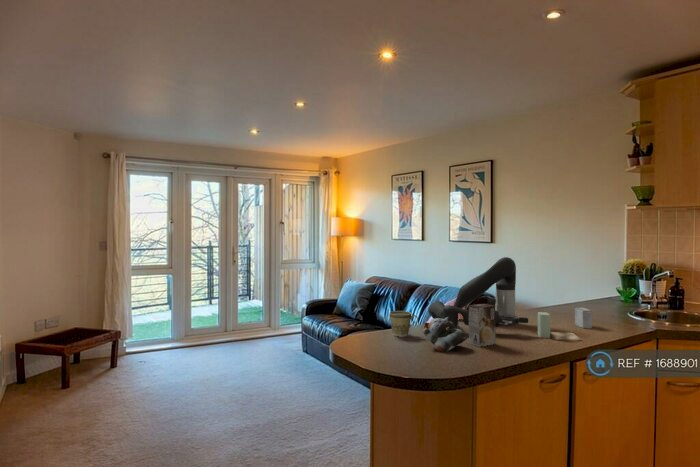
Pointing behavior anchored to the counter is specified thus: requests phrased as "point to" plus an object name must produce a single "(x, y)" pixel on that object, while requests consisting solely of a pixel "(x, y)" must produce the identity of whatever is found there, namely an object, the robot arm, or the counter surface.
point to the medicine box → (583, 317)
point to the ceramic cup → (401, 322)
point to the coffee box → (482, 325)
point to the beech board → (564, 336)
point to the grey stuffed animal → (443, 334)
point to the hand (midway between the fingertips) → (527, 320)
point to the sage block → (544, 324)
